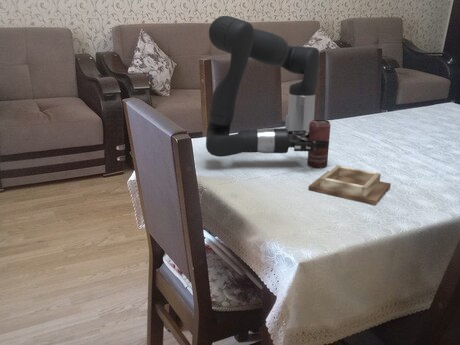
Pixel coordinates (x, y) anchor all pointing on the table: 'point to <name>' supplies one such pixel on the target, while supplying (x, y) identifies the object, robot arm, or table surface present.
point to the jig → (351, 185)
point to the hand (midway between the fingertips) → (324, 140)
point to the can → (319, 132)
